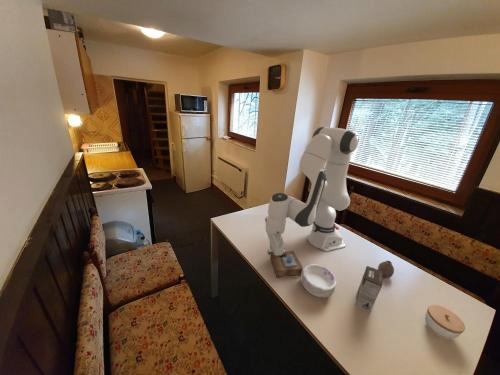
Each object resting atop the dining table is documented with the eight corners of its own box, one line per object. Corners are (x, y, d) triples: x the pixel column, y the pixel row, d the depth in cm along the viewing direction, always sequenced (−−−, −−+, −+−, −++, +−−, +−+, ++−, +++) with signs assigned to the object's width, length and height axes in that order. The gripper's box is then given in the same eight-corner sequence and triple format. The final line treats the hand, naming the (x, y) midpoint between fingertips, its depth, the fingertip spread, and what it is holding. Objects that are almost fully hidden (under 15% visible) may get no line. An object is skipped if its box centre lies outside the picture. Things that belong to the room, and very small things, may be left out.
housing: (292, 257, 114) (293, 250, 112) (300, 275, 102) (302, 268, 100) (270, 259, 112) (271, 251, 110) (276, 277, 100) (277, 270, 98)
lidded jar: (458, 333, 80) (470, 318, 76) (451, 351, 74) (463, 335, 70) (425, 312, 88) (434, 297, 84) (416, 326, 82) (426, 310, 78)
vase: (378, 267, 110) (383, 255, 107) (392, 275, 106) (398, 262, 103) (374, 274, 106) (379, 261, 102) (389, 282, 101) (395, 269, 98)
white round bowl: (338, 288, 97) (342, 276, 93) (324, 309, 86) (327, 296, 83) (310, 270, 106) (312, 258, 103) (294, 286, 96) (296, 274, 93)
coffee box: (357, 290, 96) (366, 264, 90) (372, 297, 93) (383, 271, 87) (354, 305, 89) (365, 278, 83) (371, 313, 86) (383, 285, 80)
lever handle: (283, 251, 110) (284, 247, 109) (285, 255, 107) (286, 251, 106) (267, 252, 109) (267, 248, 108) (268, 256, 106) (268, 252, 105)
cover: (292, 258, 107) (293, 251, 105) (296, 266, 101) (297, 259, 100) (281, 258, 106) (282, 252, 104) (285, 267, 100) (286, 260, 99)
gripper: (288, 240, 86) (284, 264, 91) (276, 215, 105) (273, 237, 110) (274, 240, 85) (270, 265, 90) (264, 215, 104) (261, 237, 109)
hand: (272, 249), depth 100 cm, fingers closed
